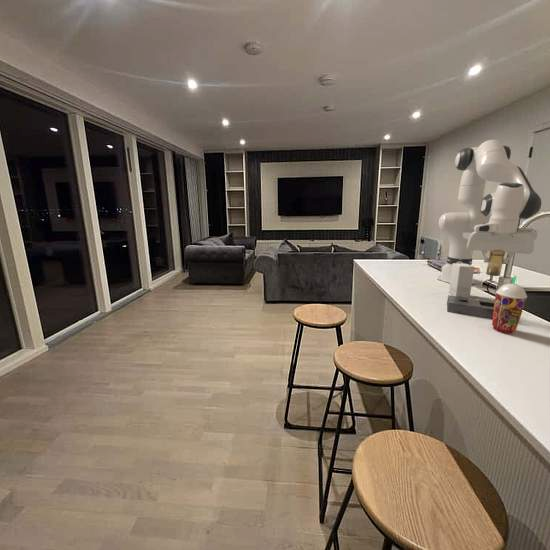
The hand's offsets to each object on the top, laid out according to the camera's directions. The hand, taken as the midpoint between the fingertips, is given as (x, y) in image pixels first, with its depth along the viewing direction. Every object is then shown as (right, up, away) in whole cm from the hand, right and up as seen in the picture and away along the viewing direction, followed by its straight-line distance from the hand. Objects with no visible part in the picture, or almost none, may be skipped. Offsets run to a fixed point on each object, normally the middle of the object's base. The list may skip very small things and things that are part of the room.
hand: (495, 263), depth 110 cm
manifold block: (-3, -20, +7) cm, 21 cm away
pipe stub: (0, -5, +1) cm, 5 cm away
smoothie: (-5, -25, -10) cm, 27 cm away
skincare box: (+3, -15, +27) cm, 31 cm away
